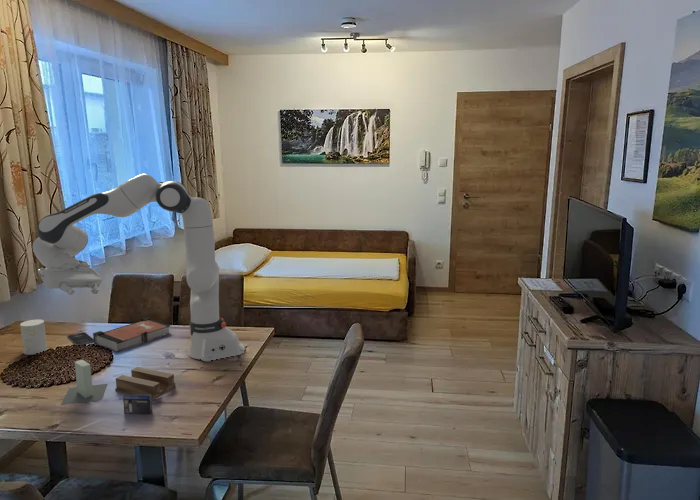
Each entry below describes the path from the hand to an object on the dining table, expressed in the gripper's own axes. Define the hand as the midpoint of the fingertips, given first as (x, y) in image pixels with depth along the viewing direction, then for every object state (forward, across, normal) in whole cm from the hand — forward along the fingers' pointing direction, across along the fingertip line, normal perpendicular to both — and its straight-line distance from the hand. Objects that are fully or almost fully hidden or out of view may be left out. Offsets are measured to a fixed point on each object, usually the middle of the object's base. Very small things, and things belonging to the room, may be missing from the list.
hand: (84, 292), depth 169 cm
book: (-3, +41, +30) cm, 51 cm away
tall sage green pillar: (+25, -3, +24) cm, 34 cm away
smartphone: (-18, +30, +42) cm, 55 cm away
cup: (-21, +14, +48) cm, 54 cm away
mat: (+25, -3, +24) cm, 35 cm away
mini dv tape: (+46, -3, +12) cm, 48 cm away
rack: (+36, +9, +14) cm, 40 cm away
